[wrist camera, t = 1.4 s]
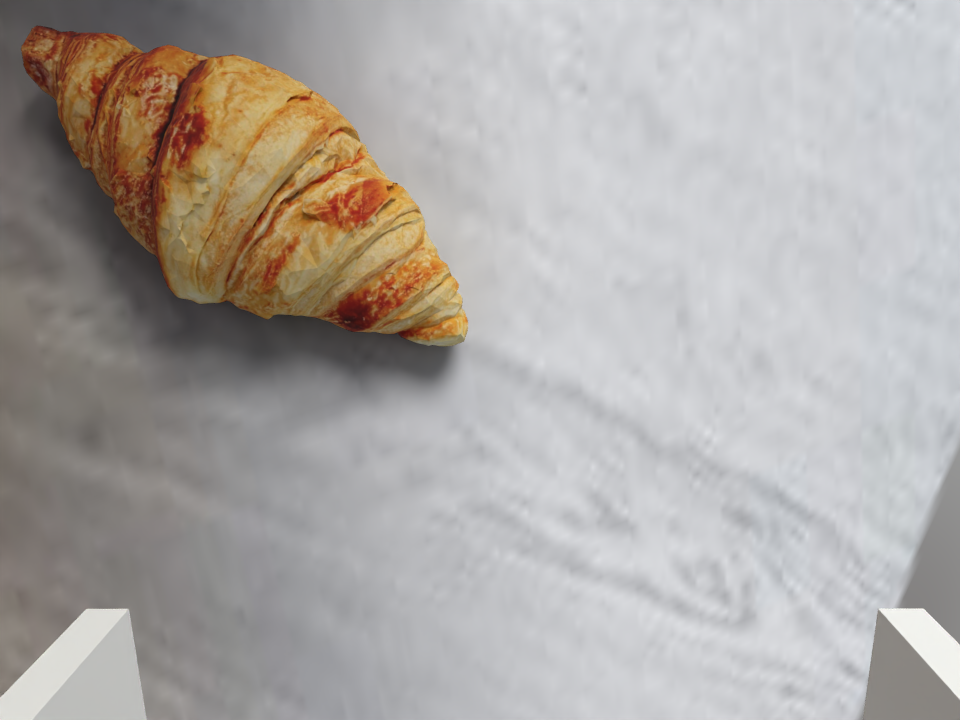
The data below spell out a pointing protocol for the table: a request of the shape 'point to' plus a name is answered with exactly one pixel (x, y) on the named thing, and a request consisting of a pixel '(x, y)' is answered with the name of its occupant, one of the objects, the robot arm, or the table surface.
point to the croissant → (247, 186)
